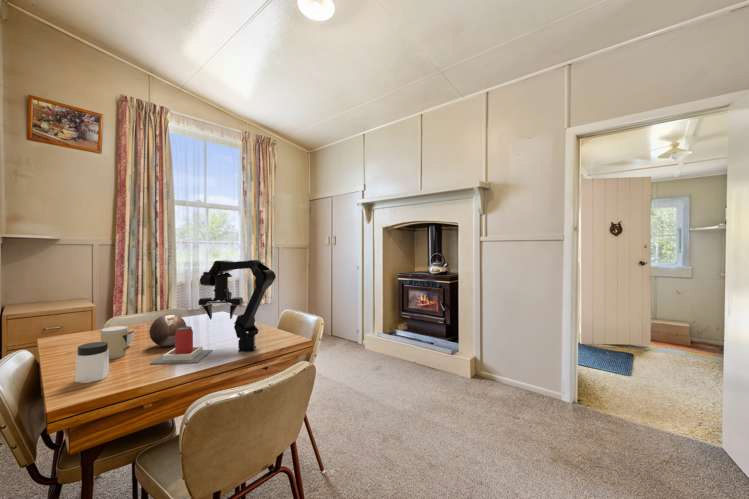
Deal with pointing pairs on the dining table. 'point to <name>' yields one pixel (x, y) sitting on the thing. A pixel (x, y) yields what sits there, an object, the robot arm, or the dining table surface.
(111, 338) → the coffee cup
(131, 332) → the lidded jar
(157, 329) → the brown ball
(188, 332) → the beer can
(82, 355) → the jar
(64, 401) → the dining table surface
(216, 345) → the dining table surface
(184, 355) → the holder plate
